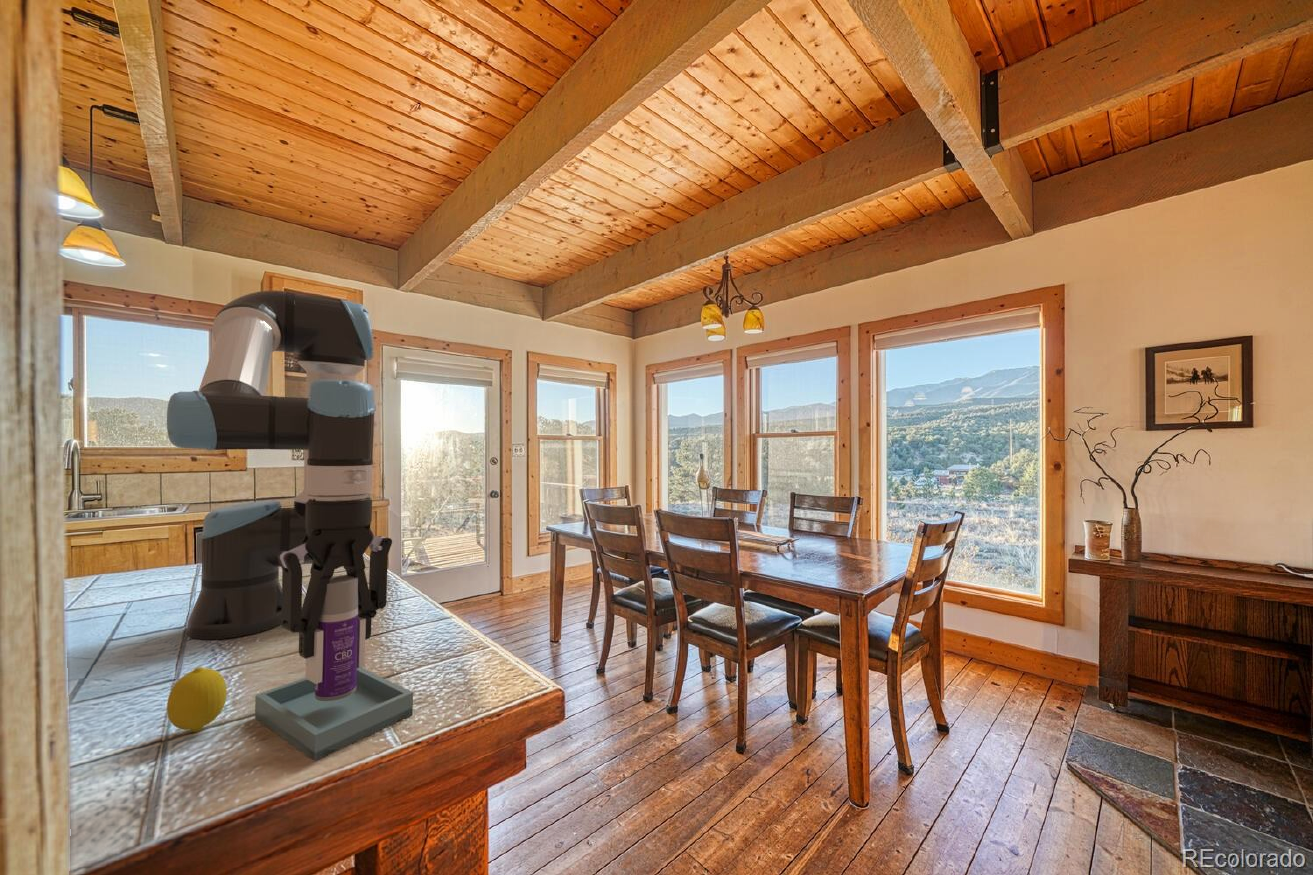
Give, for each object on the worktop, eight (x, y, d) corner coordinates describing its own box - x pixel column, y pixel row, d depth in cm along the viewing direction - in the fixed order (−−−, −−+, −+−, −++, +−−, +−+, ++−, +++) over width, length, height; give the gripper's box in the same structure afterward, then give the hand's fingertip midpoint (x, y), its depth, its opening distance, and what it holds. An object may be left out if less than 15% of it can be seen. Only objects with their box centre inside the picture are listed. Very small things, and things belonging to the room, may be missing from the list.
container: (336, 703, 65) (339, 585, 65) (305, 698, 66) (308, 582, 66) (364, 686, 70) (367, 576, 70) (335, 682, 71) (337, 573, 71)
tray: (254, 717, 67) (255, 694, 67) (349, 681, 77) (350, 662, 77) (314, 761, 59) (315, 735, 59) (412, 714, 69) (413, 692, 69)
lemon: (191, 719, 66) (192, 658, 66) (236, 718, 67) (238, 657, 67) (153, 745, 61) (154, 678, 61) (202, 744, 61) (204, 677, 61)
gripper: (275, 505, 59) (270, 709, 59) (418, 493, 74) (414, 655, 74) (247, 500, 63) (243, 691, 63) (388, 489, 78) (385, 643, 77)
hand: (335, 671), depth 68 cm, fingers closed on container, 5 cm apart
